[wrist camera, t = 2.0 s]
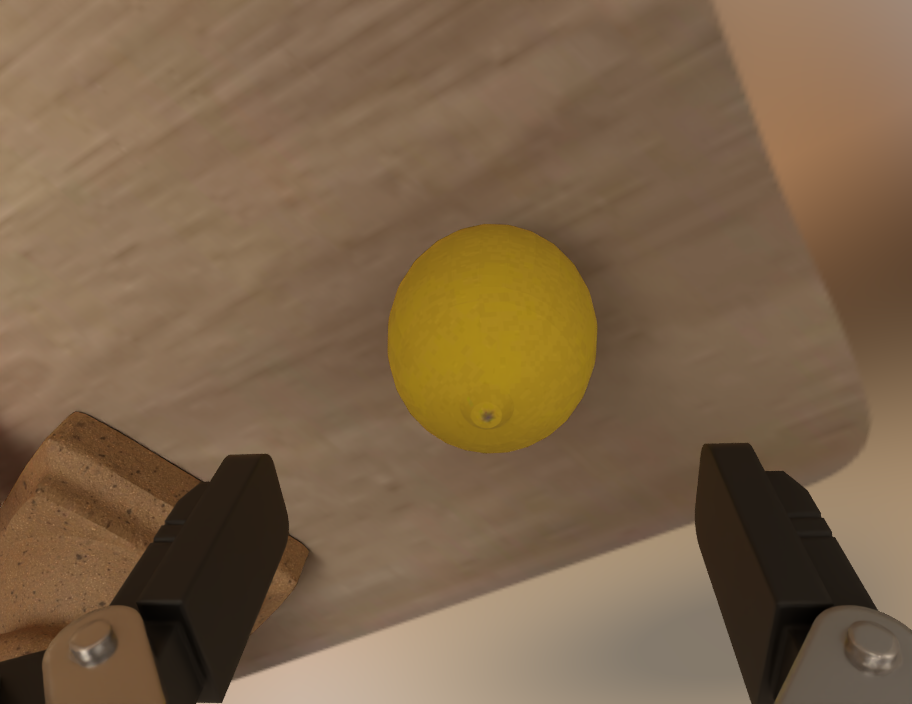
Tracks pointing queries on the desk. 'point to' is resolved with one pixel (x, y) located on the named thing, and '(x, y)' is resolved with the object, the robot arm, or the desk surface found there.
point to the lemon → (492, 338)
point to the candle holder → (89, 531)
